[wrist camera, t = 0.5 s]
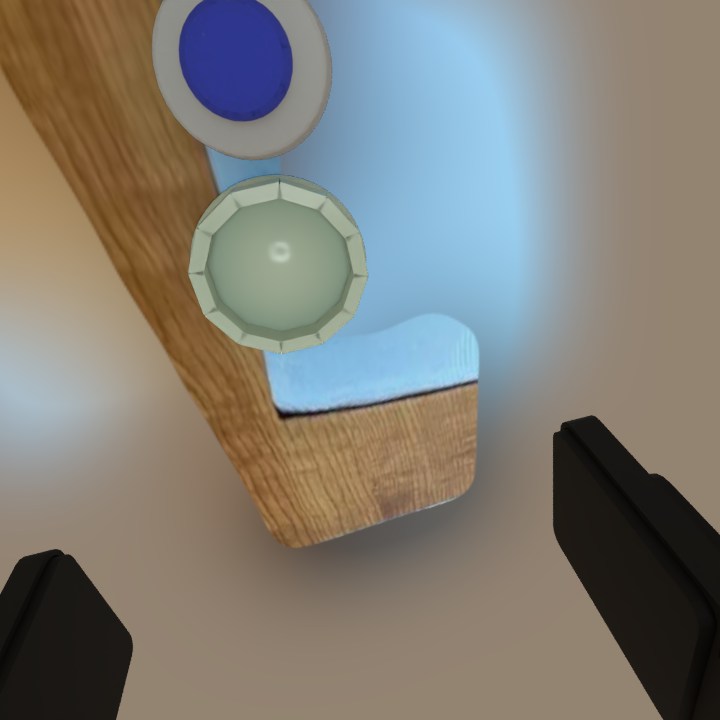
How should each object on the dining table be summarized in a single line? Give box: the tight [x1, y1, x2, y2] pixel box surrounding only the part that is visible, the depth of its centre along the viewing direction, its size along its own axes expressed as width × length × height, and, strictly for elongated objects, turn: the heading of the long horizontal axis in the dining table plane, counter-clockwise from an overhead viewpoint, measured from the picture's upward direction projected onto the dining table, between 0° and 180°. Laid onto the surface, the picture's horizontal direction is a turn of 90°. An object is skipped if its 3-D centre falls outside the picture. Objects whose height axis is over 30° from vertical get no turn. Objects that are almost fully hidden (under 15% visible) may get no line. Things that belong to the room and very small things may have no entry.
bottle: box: [152, 0, 332, 160], centre depth 23 cm, size 7×7×20 cm
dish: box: [188, 175, 368, 354], centre depth 37 cm, size 13×13×2 cm
